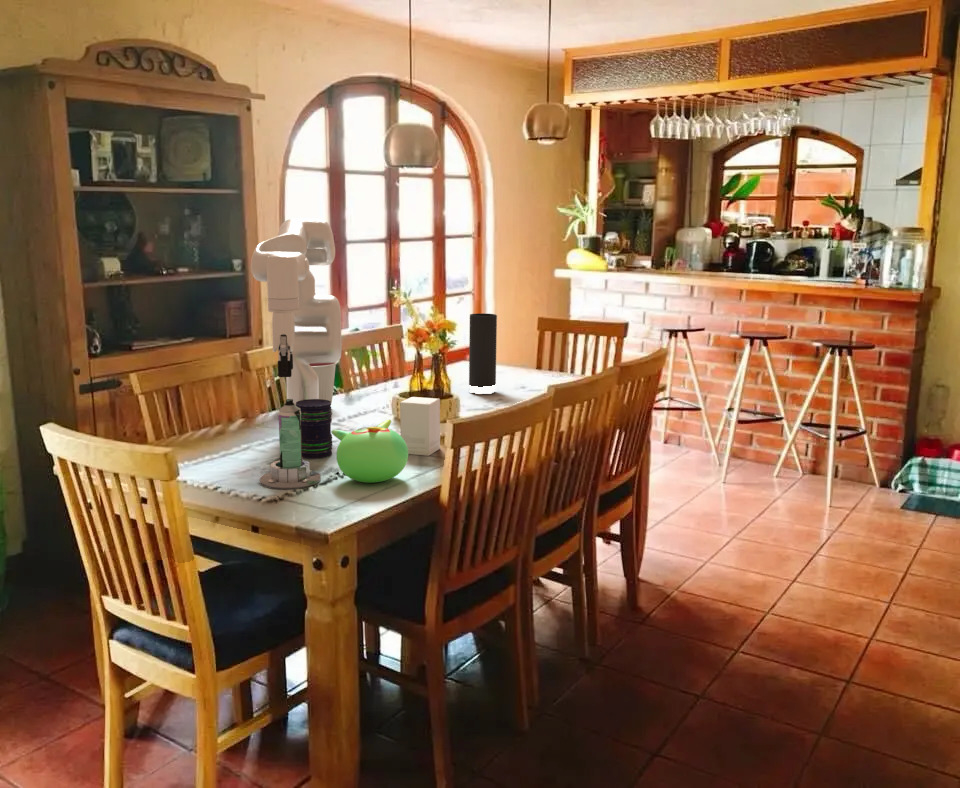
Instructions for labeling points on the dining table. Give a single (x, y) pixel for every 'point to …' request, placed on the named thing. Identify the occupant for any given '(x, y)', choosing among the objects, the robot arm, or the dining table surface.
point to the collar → (290, 476)
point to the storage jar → (316, 428)
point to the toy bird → (371, 453)
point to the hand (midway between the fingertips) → (285, 373)
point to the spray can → (290, 435)
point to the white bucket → (325, 379)
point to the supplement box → (420, 425)
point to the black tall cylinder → (482, 349)
